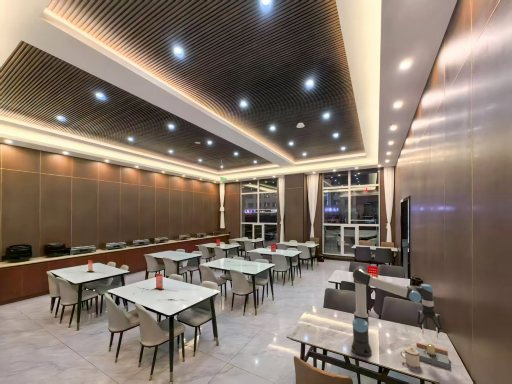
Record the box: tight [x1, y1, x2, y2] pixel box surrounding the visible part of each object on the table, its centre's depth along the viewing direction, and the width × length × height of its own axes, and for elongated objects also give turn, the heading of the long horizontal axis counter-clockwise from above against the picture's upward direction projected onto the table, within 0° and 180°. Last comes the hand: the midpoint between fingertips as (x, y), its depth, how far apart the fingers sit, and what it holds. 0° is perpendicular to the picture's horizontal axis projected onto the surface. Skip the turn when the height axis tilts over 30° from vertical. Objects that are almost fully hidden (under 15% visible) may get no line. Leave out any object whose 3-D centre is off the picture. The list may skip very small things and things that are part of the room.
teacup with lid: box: [400, 346, 421, 368], centre depth 174 cm, size 12×9×12 cm
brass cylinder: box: [426, 343, 436, 357], centre depth 179 cm, size 5×5×10 cm
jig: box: [415, 341, 450, 370], centre depth 180 cm, size 20×16×6 cm
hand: (430, 335), depth 180 cm, fingers open, 8 cm apart
